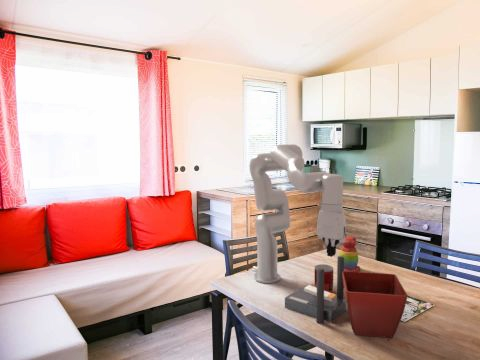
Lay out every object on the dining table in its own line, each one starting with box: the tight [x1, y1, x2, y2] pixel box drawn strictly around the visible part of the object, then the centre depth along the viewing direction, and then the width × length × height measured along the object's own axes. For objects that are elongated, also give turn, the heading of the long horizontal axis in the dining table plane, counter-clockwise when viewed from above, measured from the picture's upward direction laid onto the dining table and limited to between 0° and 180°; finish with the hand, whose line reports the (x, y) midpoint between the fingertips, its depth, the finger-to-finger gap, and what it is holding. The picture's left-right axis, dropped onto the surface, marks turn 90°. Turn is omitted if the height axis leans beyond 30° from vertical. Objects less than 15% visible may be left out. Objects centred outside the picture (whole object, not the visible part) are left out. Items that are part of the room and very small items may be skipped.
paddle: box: [303, 284, 337, 302], centre depth 143 cm, size 12×4×1 cm, turn 50°
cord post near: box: [315, 268, 325, 325], centre depth 134 cm, size 3×3×20 cm
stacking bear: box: [338, 235, 361, 272], centre depth 186 cm, size 11×10×18 cm
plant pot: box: [342, 271, 408, 339], centre depth 130 cm, size 19×19×17 cm
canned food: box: [313, 263, 334, 293], centre depth 161 cm, size 8×8×11 cm
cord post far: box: [336, 255, 345, 300], centre depth 147 cm, size 3×3×20 cm
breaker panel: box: [284, 287, 347, 324], centre depth 145 cm, size 20×13×6 cm, turn 50°
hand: (331, 255), depth 139 cm, fingers closed
